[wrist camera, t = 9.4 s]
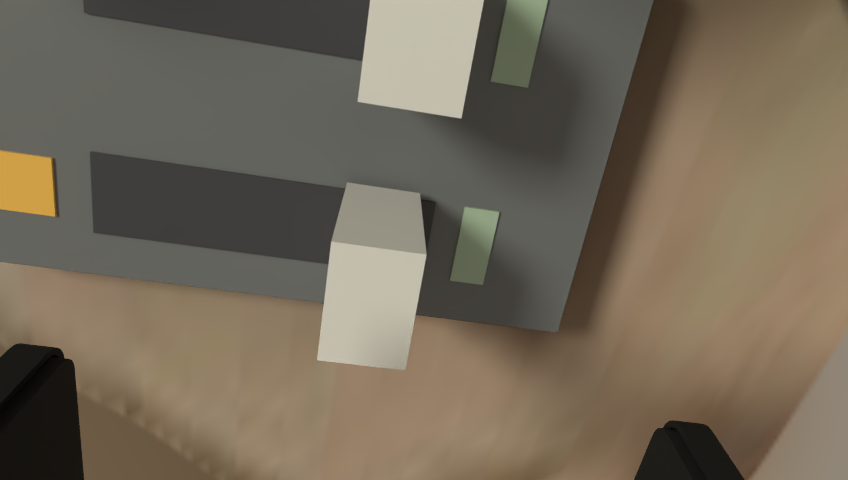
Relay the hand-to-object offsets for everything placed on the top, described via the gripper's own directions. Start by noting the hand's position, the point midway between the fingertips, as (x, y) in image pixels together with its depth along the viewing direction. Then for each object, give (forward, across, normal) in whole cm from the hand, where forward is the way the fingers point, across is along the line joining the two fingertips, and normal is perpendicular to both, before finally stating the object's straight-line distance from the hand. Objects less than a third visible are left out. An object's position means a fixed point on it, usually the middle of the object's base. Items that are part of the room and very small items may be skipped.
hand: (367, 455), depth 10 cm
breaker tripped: (+11, 0, +1) cm, 11 cm away
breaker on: (+11, 0, -6) cm, 13 cm away
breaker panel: (+14, +4, -2) cm, 15 cm away
